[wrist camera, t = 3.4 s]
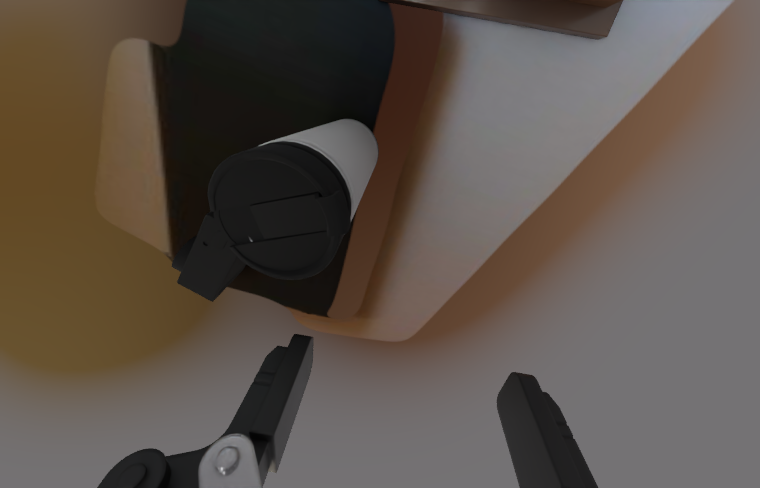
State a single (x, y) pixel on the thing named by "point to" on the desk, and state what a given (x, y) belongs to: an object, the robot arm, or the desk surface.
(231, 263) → the digital camera
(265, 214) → the travel mug
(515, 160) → the desk surface
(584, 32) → the door track
